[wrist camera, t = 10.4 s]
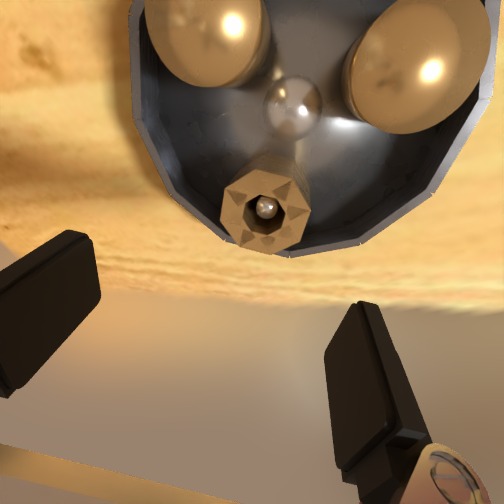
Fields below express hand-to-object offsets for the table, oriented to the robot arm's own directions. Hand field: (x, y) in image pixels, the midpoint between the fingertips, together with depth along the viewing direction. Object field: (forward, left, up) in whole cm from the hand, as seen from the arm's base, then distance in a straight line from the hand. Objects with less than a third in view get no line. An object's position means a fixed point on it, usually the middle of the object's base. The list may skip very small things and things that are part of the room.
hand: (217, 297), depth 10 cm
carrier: (+1, +6, -15) cm, 16 cm away
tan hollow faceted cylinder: (+1, 0, -13) cm, 13 cm away
